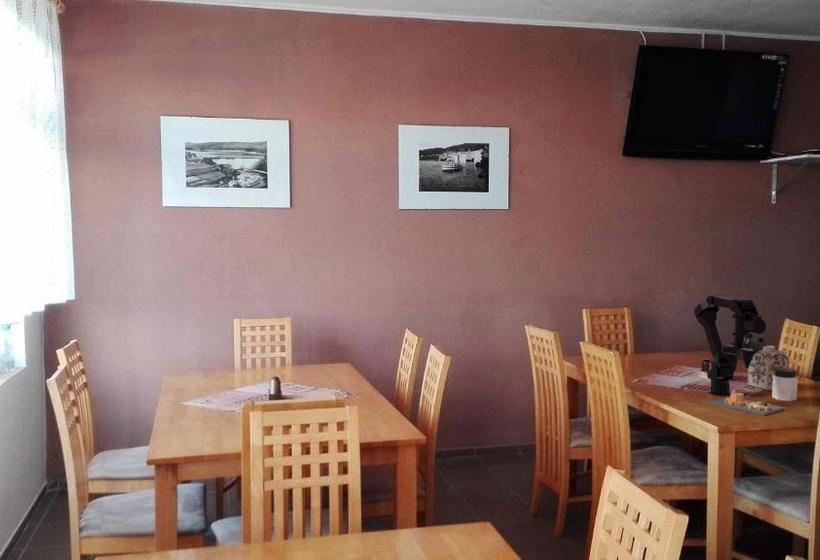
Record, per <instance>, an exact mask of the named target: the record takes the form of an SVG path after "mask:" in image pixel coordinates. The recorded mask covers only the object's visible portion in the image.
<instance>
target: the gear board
mask: <svg viewBox="0 0 820 560" xmlns="http://www.w3.org/2000/svg"><path fill="white" fill-rule="evenodd" d="M733 392H737V390H736V389H732V391H731V393H733ZM737 395H739V394H737ZM730 397H731V396H728V397H724V398H723V397H722V398H718V399H715V400H714V399H713V400H711V401H710V405H713V406H714V405H715V406H718V405H719V407H723V406H724V407H723V408H727V407H729V409H732V408H734V409H733V410H736V409H739V410H738V411H741V410H743V411H742V412H746V411H748V412H747V413H750V412H752V413H751V414H755V413H756V415H759V414H760V415H759V416H768V415H771V414H775V413H778V412H782V411H785V407H782V406H778V405H773V404H770V403H768V400H765V399H764V400H763V401H753V400H749V403H747V405H741V406H738V405H730V404H728V403H725V399H726V398H730Z"/></svg>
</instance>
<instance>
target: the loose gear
mask: <svg viewBox="0 0 820 560" xmlns="http://www.w3.org/2000/svg"><path fill="white" fill-rule="evenodd" d="M730 393H731V394H730V396H729V397H730V398H727V397H725V398H726V399H725V403H728V404H730V405H738V406H741V405H747V403H749V401H750V400H749V399H745V398H744V397H745V394H744V393H742V392H737V391H736V392H733V393H732V392H730ZM737 394H739V395H737Z"/></svg>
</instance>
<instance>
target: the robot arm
mask: <svg viewBox="0 0 820 560" xmlns="http://www.w3.org/2000/svg"><path fill="white" fill-rule="evenodd" d="M720 307H721V308H727V309H729V310H730V311H731V312H732V313H734V314H732V315H731V318H732V319H734V331H733V332H731V336H733V342H731V344H725V345H724V344H723V342H722V340H721V336H720V334H719V331H718V328H717V324H716V322H717V318H718V312H719V311H720V310H721V309H720ZM693 312H694V313H693V314H694V316H695V319H696V321H697V322H698V323H699V324H700V325H701V326H702V327H703V329H704V332H705V337H706V340H707V342H708V345H709V349H710V353H711V356H712V360H711V363H710V365H711V366H710V367H711V368H710V369H709V371H708V372H707V373H706V374H707V376H706V377H707V379H708V380H710V391H708V394H712V395H716V396H721V397H722V396H728V395H731V393H732V392H730V389H731V388H730V387H731V386H730V385H731V384H730V380H731V381H732V380H733V378H734V375H735V372H736V370H737V366H738V361H739V360H738V359H739V357H741V355H742V358H743V362H744V366H745V368H746V369H748V368H749V366H750V363H751V361H752V358H753V356H754V355H755V354H756V353H757V352H759V351H762V349H763V347H765V346H767V345H766V344H767V343H766V339H765V338H764V337H759V338H755V337H754V334H757V335H759V334H760V335H762V334H763V333H764V332H765V331H766V329H767V324H766V321H765V320H764V319H763V317H762V316H760V314H759V311H758V310H757V308H756V306H755V303H754V302H753V299H751V298H730V297H726V296H721V295H719V294H718V295H712V294H711V295H709V296H707V297H706V299H704V300H702V301H701V302H699V304H697V305H696V307H695V308H694V311H693ZM741 353H742V354H741Z"/></svg>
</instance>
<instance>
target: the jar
mask: <svg viewBox="0 0 820 560" xmlns="http://www.w3.org/2000/svg"><path fill="white" fill-rule="evenodd" d="M797 371H798V370H797V369H794V368H790V367H789V368H775V369H774V375H773V387H772V390H771V391H772V392H771V393H772V394H771V397H772V398H773V399H775V400H777V401H786V402H793V401H797V398H798V397H797V396H798V380H799V379H798V378H799V377H798V376H797V374H798V373H797Z"/></svg>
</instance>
